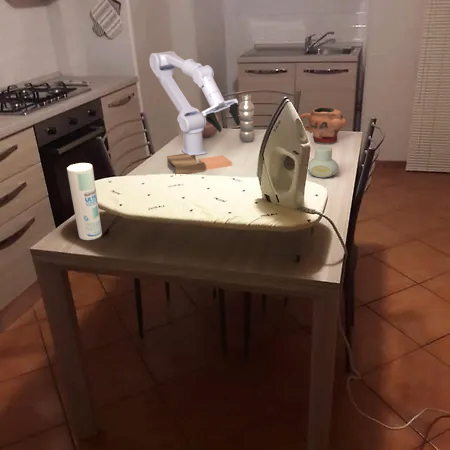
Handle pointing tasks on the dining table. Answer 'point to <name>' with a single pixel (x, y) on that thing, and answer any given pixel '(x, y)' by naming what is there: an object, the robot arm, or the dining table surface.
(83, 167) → the spray can
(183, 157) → the cubby
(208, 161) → the tile
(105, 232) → the dining table surface
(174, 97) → the robot arm
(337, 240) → the dining table surface
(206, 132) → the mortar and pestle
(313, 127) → the decorative planter
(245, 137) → the plastic bottle
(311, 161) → the air freshener
